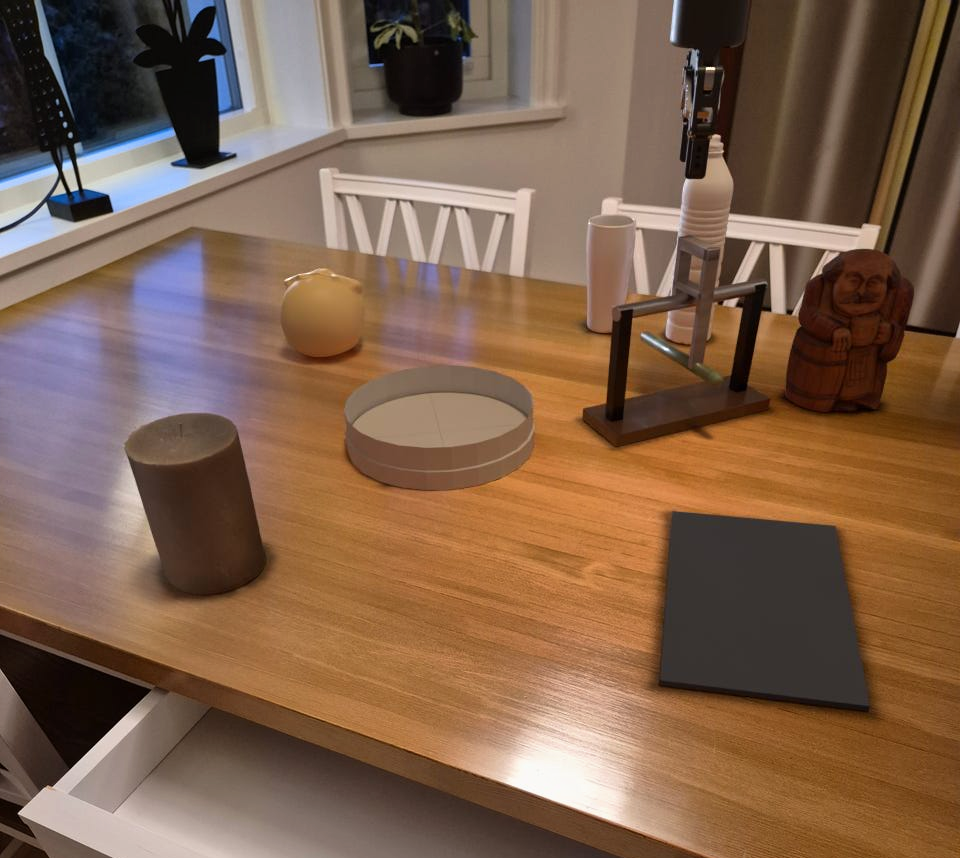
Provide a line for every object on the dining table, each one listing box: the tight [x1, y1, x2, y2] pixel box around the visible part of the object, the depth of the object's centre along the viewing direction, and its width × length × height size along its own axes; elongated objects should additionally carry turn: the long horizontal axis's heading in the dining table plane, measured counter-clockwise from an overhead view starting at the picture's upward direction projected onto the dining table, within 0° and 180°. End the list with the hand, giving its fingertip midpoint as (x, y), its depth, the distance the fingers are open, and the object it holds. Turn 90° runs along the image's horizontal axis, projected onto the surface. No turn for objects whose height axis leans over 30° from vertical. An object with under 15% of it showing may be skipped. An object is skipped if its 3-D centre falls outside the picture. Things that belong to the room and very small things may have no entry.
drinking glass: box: [585, 213, 637, 334], centre depth 124 cm, size 7×7×15 cm
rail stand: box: [581, 278, 771, 448], centre depth 102 cm, size 8×22×15 cm, turn 114°
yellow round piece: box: [279, 267, 365, 358], centre depth 121 cm, size 11×12×11 cm
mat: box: [658, 510, 871, 712], centre depth 77 cm, size 26×16×1 cm, turn 168°
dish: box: [343, 364, 536, 491], centre depth 100 cm, size 22×22×5 cm
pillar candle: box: [123, 412, 267, 595], centre depth 79 cm, size 10×10×15 cm
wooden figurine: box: [784, 248, 915, 413], centre depth 102 cm, size 12×6×18 cm, turn 86°
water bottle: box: [665, 133, 734, 345], centre depth 119 cm, size 9×6×25 cm
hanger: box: [640, 235, 724, 387], centre depth 98 cm, size 16×2×14 cm, turn 24°
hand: (691, 169), depth 96 cm, fingers open, 8 cm apart
